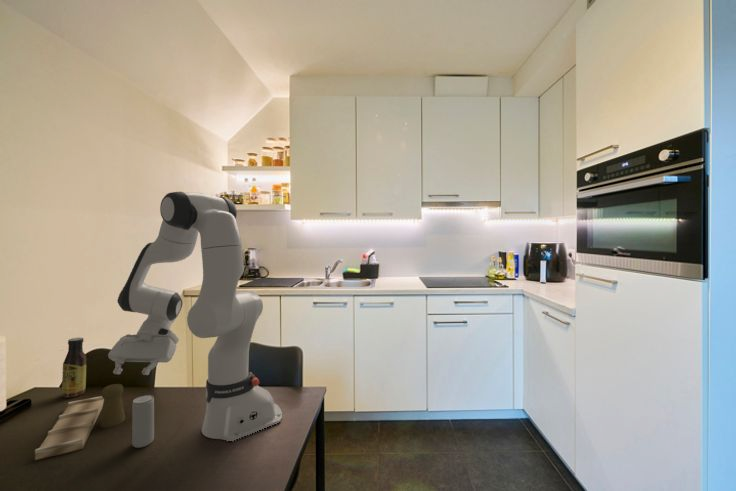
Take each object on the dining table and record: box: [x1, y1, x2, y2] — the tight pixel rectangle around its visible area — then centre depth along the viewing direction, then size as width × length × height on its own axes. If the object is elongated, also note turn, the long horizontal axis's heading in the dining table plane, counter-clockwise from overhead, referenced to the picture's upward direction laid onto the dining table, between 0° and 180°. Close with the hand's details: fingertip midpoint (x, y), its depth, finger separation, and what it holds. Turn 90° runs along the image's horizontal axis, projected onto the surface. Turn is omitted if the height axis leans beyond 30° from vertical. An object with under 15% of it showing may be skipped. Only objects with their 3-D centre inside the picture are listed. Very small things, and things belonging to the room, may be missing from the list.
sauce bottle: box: [61, 337, 87, 399], centre depth 114 cm, size 6×6×20 cm
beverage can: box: [131, 394, 155, 449], centre depth 87 cm, size 5×5×12 cm
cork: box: [99, 383, 126, 429], centre depth 97 cm, size 6×6×11 cm
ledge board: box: [34, 395, 104, 461], centre depth 94 cm, size 9×28×2 cm, turn 30°
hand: (130, 373), depth 104 cm, fingers open, 8 cm apart
